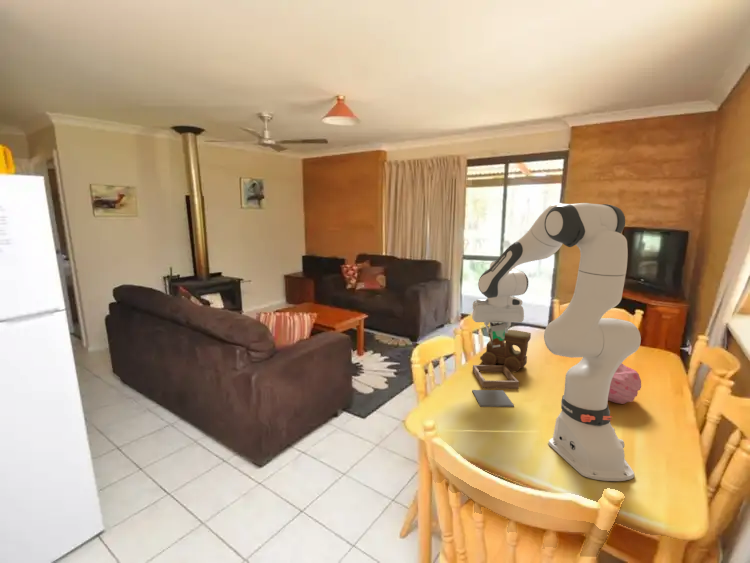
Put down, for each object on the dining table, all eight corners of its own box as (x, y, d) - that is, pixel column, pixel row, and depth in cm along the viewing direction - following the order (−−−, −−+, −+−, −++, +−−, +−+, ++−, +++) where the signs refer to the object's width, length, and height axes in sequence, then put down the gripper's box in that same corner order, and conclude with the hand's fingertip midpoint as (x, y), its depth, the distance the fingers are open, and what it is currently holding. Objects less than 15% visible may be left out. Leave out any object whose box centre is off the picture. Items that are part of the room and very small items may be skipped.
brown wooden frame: (518, 388, 144) (518, 381, 144) (483, 388, 145) (483, 381, 144) (504, 371, 161) (504, 365, 161) (472, 371, 161) (472, 365, 161)
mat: (513, 406, 130) (514, 405, 130) (480, 406, 130) (480, 405, 130) (502, 391, 142) (502, 390, 142) (472, 391, 142) (472, 389, 142)
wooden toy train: (529, 366, 167) (531, 331, 164) (523, 375, 157) (526, 338, 155) (486, 357, 178) (487, 325, 175) (478, 365, 168) (480, 331, 166)
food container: (509, 350, 144) (508, 325, 142) (493, 350, 145) (492, 326, 143) (505, 340, 155) (504, 317, 154) (490, 340, 157) (489, 318, 155)
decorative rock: (597, 386, 146) (601, 351, 144) (641, 397, 137) (645, 360, 134) (587, 404, 132) (591, 365, 130) (635, 417, 123) (640, 376, 120)
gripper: (474, 301, 144) (473, 334, 146) (526, 301, 144) (524, 334, 146) (471, 298, 151) (469, 330, 153) (520, 298, 150) (518, 330, 152)
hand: (496, 332), depth 149 cm, fingers closed on food container, 5 cm apart
